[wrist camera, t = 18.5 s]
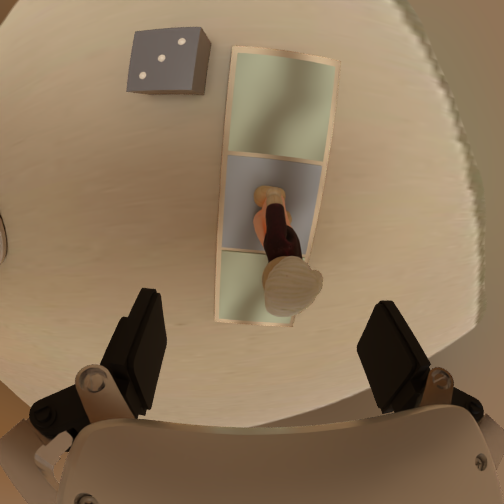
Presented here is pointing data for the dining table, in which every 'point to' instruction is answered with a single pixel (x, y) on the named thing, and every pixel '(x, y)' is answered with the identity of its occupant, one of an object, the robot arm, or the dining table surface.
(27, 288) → the dining table surface
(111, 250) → the dining table surface
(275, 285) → the grandmother figurine
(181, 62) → the die
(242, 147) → the board
